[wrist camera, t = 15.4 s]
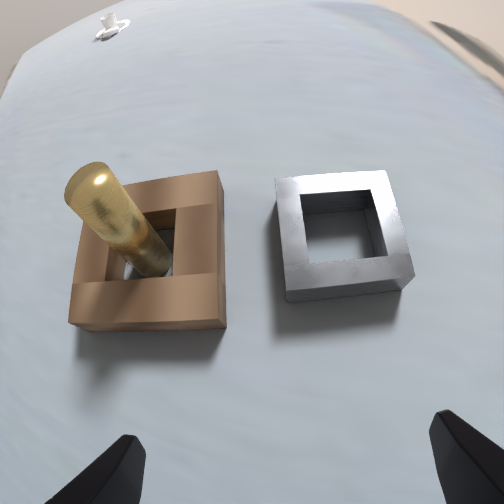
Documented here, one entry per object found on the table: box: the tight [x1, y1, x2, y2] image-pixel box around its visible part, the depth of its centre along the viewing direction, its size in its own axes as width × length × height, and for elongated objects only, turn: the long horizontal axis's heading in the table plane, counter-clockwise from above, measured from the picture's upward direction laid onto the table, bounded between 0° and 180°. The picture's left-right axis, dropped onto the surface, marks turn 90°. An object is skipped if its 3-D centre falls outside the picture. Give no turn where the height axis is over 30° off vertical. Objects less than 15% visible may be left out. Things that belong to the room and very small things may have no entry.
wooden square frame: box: [68, 170, 227, 331], centre depth 25 cm, size 12×12×3 cm
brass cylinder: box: [64, 162, 172, 278], centre depth 21 cm, size 3×3×11 cm
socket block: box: [274, 171, 415, 303], centre depth 24 cm, size 9×9×3 cm
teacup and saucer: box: [96, 13, 130, 39], centre depth 49 cm, size 9×8×4 cm
